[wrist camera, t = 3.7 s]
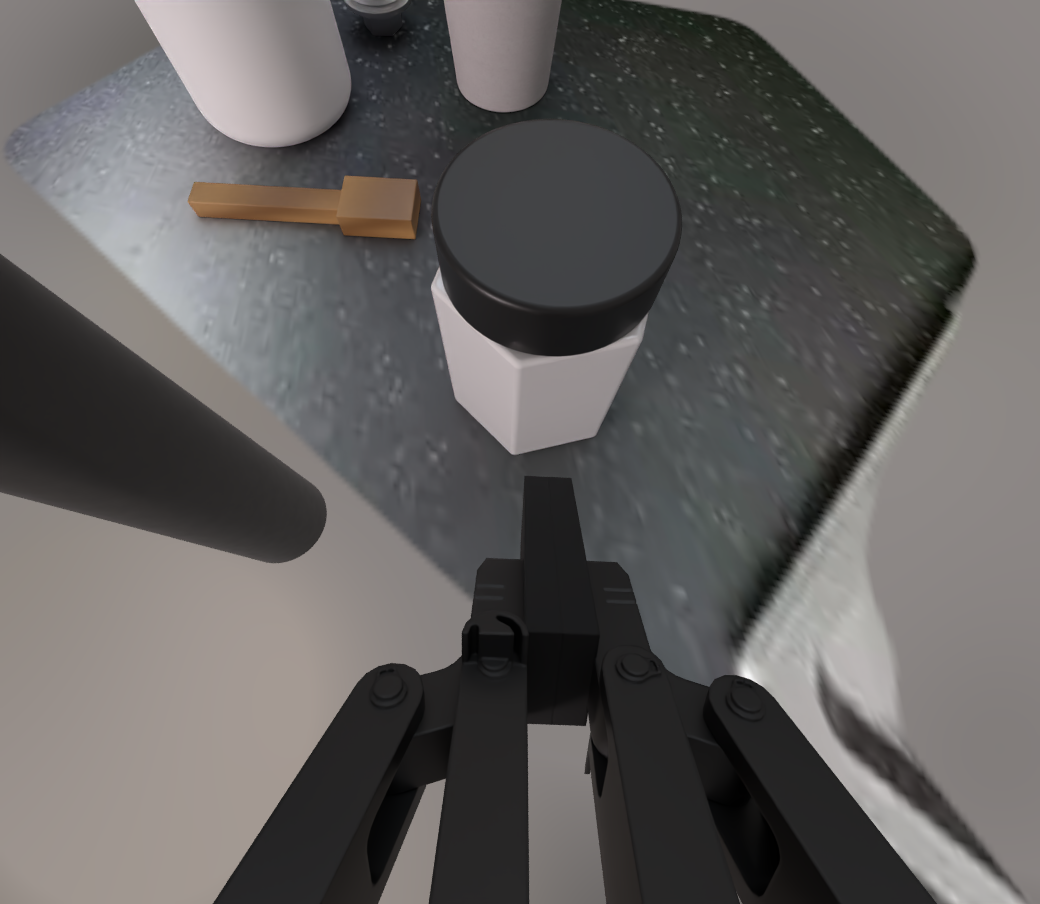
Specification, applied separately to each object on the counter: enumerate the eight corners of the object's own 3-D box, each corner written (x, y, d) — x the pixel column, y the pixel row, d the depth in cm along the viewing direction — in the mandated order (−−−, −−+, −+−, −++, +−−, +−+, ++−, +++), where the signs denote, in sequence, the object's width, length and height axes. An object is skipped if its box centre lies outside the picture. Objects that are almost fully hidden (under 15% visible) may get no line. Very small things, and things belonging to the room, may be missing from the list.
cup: (259, 182, 31) (153, -11, 22) (178, 98, 33) (49, -111, 24) (386, 110, 33) (340, -91, 24) (302, 36, 36) (229, -174, 26)
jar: (590, 305, 29) (647, 97, 17) (635, 431, 26) (736, 281, 15) (440, 335, 28) (396, 134, 16) (471, 468, 25) (444, 339, 14)
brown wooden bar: (194, 227, 30) (179, 207, 28) (208, 187, 31) (193, 166, 29) (415, 239, 30) (411, 220, 28) (421, 199, 31) (417, 179, 30)
